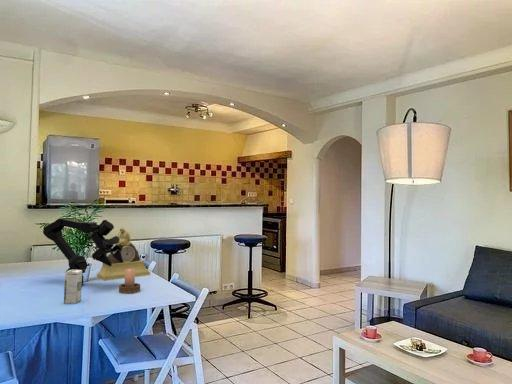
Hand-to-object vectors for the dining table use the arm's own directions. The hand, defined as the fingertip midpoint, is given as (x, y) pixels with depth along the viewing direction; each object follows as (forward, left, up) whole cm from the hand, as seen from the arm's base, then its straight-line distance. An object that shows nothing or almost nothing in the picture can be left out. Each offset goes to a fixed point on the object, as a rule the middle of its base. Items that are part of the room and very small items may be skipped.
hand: (116, 264), depth 201 cm
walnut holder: (+3, -8, -13) cm, 16 cm away
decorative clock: (+20, +28, -14) cm, 37 cm away
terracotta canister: (+3, -8, -13) cm, 15 cm away
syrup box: (-26, -8, -14) cm, 30 cm away
